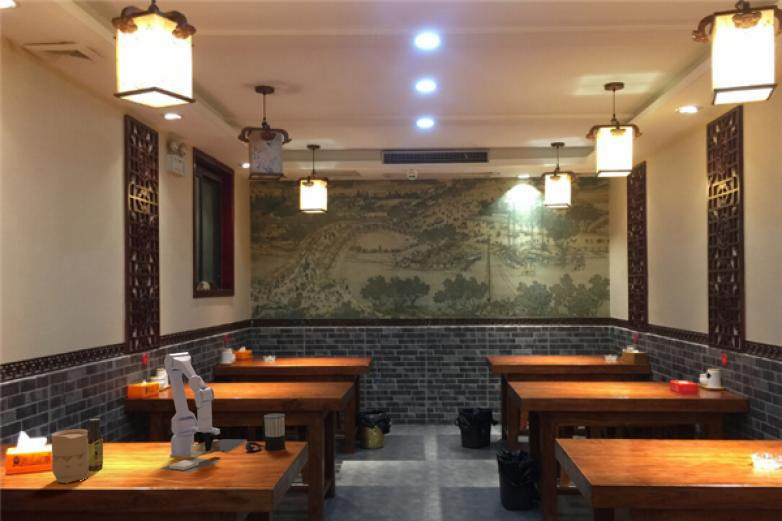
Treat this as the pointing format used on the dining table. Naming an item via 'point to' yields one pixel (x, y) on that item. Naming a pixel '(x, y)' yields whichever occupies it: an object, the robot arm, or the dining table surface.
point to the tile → (184, 465)
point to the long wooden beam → (201, 450)
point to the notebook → (230, 444)
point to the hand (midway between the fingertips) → (205, 450)
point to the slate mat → (202, 464)
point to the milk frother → (271, 434)
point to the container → (70, 455)
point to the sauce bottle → (95, 445)
